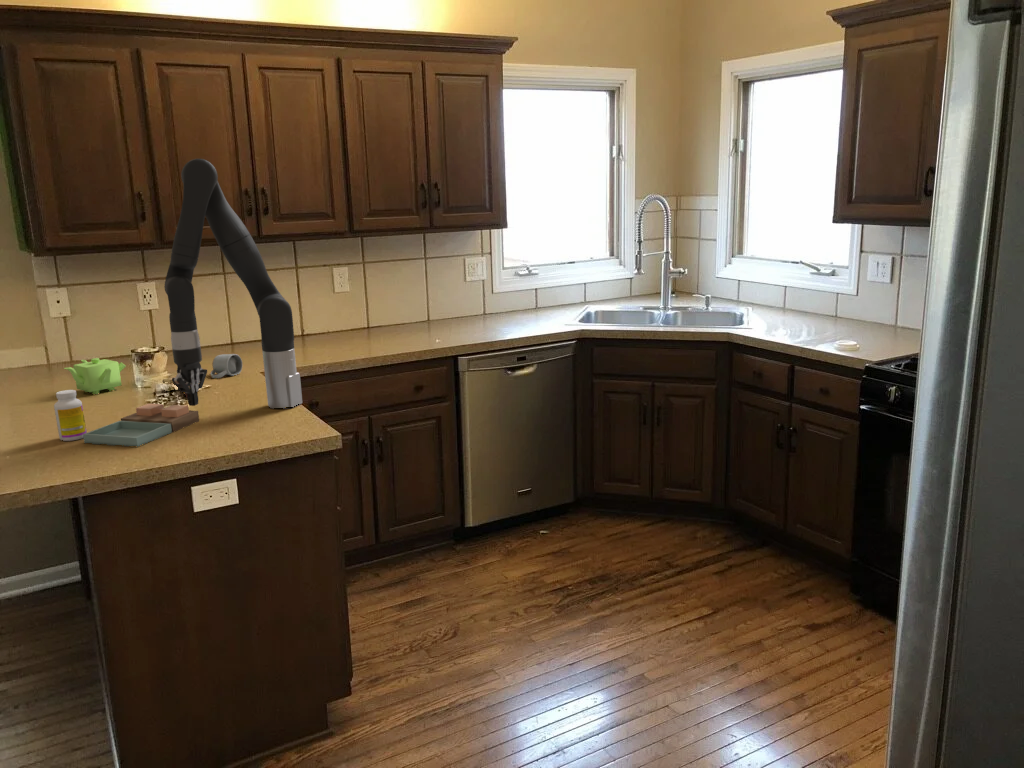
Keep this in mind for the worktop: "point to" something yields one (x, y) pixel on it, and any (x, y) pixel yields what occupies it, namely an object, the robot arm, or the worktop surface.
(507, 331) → the worktop surface
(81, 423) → the supplement bottle
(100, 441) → the tray
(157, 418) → the dark brown wooden board
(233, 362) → the ceramic mug
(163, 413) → the tile
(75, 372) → the kettle
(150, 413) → the tile
